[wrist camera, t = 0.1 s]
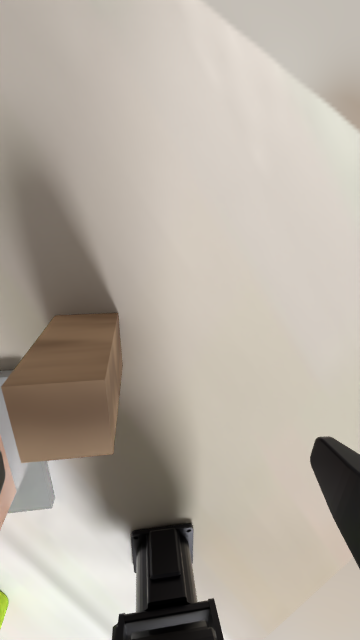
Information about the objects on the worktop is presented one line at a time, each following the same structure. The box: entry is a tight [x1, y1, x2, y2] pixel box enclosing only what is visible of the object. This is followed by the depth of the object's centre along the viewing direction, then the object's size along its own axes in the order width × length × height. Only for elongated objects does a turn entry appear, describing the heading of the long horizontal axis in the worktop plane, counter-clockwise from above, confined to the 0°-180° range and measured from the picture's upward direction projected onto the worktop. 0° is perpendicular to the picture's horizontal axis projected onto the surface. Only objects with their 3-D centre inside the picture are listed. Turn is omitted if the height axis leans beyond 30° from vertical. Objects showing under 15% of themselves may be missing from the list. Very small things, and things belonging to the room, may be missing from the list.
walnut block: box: [1, 313, 123, 463], centre depth 18 cm, size 4×4×9 cm
